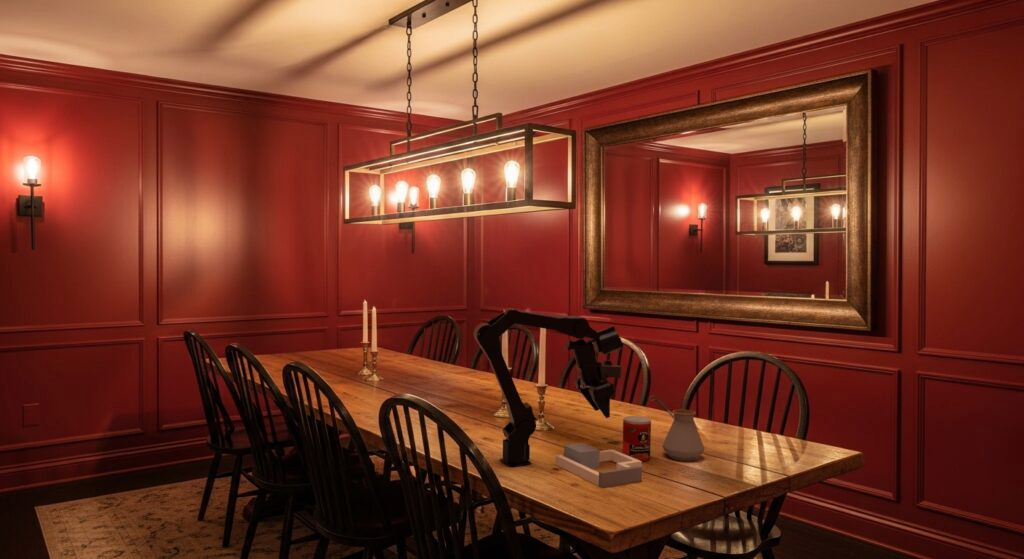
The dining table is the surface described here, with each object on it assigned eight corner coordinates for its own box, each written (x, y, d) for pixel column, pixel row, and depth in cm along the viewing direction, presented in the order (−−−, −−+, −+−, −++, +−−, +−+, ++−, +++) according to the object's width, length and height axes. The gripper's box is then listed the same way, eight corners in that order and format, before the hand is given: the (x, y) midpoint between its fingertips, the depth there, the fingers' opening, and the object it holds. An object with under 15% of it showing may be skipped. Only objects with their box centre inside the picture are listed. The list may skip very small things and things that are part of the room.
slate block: (580, 471, 186) (580, 452, 186) (563, 463, 193) (564, 445, 193) (599, 468, 189) (599, 449, 189) (582, 460, 196) (582, 442, 196)
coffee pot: (712, 460, 198) (714, 406, 197) (678, 464, 193) (680, 409, 193) (666, 441, 217) (667, 392, 217) (634, 445, 213) (635, 395, 212)
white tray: (602, 487, 172) (602, 473, 172) (555, 464, 191) (555, 451, 191) (659, 478, 181) (659, 464, 181) (608, 456, 200) (609, 444, 200)
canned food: (630, 462, 194) (630, 422, 194) (617, 454, 202) (618, 416, 202) (655, 460, 196) (656, 421, 196) (642, 453, 204) (643, 415, 204)
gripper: (625, 355, 188) (641, 411, 189) (602, 347, 206) (617, 397, 207) (586, 369, 186) (603, 425, 187) (567, 359, 204) (582, 410, 205)
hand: (602, 413), depth 197 cm, fingers open, 9 cm apart
